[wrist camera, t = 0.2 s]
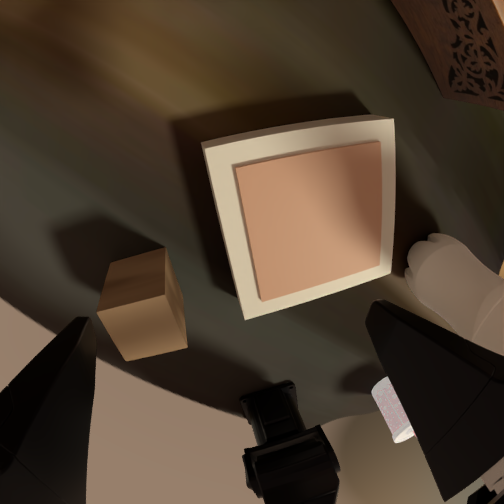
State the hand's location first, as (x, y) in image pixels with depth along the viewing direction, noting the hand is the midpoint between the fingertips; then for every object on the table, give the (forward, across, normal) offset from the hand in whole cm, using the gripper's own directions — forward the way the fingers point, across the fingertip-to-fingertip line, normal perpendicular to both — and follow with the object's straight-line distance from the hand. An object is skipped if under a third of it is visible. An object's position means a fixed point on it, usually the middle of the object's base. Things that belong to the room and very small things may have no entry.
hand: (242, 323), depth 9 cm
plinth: (+14, -8, +1) cm, 16 cm away
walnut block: (+14, +4, +7) cm, 16 cm away
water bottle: (+14, -23, +6) cm, 27 cm away
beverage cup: (+14, -26, +28) cm, 41 cm away
